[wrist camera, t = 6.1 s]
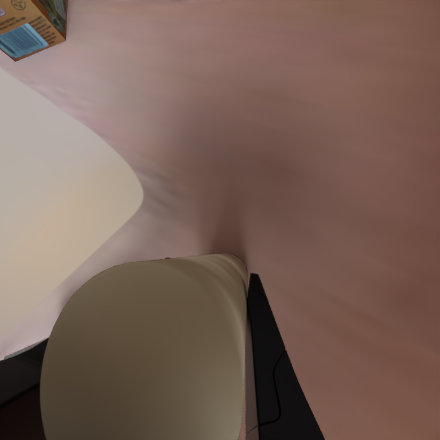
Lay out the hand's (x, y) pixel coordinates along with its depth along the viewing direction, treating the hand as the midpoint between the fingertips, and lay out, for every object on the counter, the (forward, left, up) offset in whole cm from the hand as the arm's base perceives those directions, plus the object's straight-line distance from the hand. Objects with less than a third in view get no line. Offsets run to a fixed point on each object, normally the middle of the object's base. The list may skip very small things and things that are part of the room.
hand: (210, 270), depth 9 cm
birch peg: (-1, +1, -7) cm, 7 cm away
